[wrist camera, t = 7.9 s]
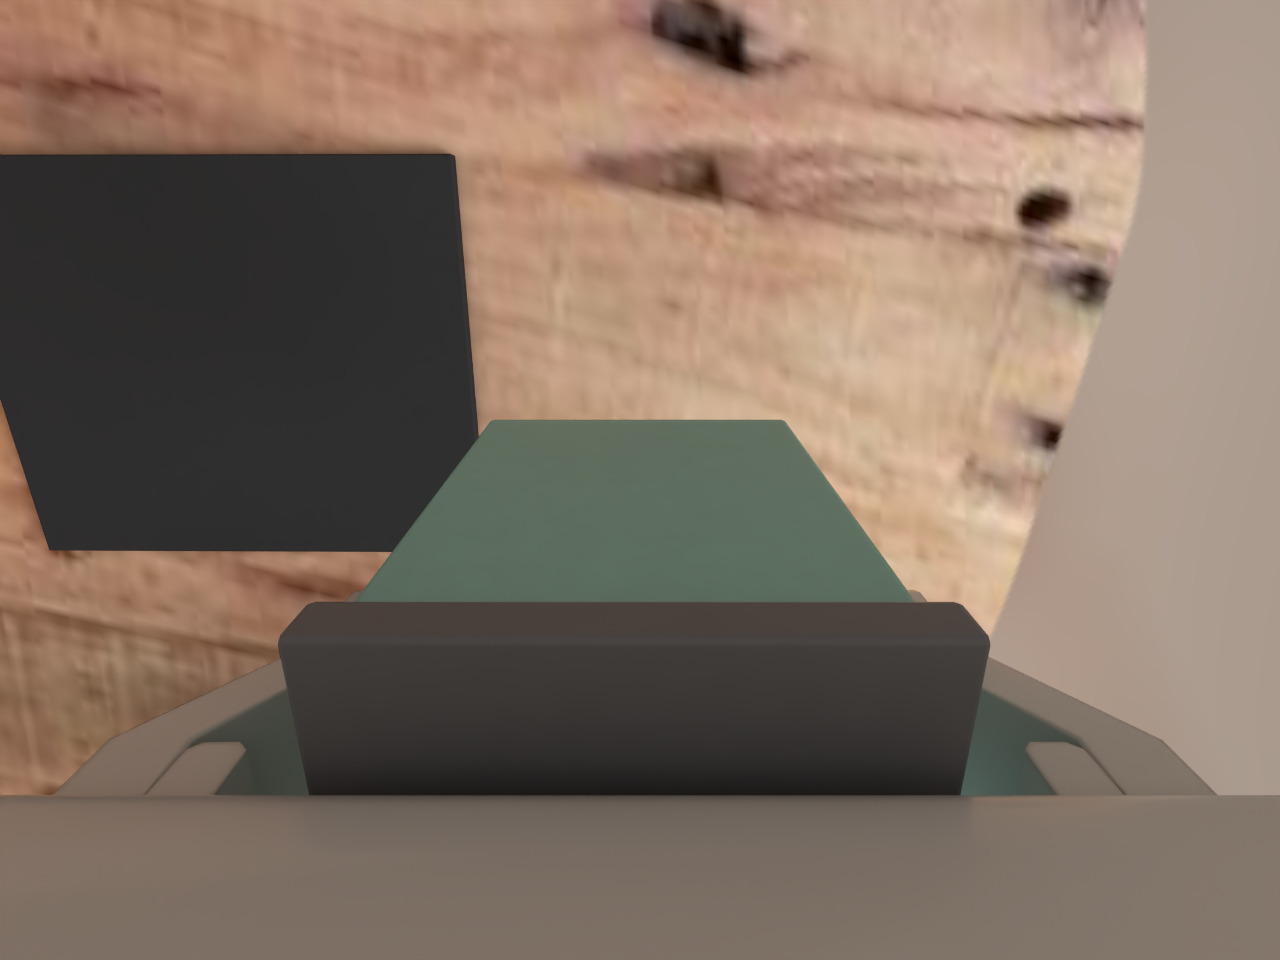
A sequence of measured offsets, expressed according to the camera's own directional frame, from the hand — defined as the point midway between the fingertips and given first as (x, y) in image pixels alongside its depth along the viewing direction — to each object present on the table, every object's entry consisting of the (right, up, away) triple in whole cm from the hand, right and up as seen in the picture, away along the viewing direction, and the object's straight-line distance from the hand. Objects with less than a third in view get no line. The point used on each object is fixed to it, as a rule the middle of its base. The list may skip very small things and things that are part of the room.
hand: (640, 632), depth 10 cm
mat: (-14, +6, +15) cm, 22 cm away
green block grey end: (0, +1, +2) cm, 3 cm away
